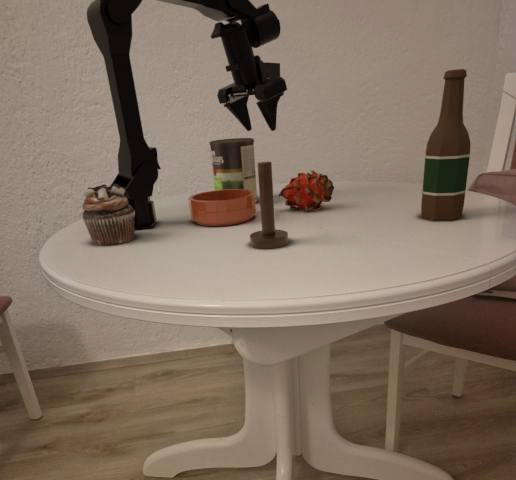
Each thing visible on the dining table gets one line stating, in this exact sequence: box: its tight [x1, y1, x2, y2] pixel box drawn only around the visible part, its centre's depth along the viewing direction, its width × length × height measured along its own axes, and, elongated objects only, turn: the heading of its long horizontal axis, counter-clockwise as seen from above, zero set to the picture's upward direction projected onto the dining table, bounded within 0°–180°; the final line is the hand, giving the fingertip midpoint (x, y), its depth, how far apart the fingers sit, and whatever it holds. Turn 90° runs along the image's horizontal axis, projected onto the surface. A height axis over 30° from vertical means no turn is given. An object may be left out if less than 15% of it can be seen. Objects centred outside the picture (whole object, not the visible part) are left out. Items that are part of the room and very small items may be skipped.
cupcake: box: [81, 184, 136, 246], centre depth 90 cm, size 10×10×10 cm
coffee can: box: [209, 137, 258, 204], centre depth 114 cm, size 10×10×14 cm
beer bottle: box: [420, 68, 471, 222], centre depth 85 cm, size 8×8×24 cm
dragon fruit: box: [278, 169, 335, 212], centre depth 103 cm, size 8×8×12 cm
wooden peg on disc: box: [249, 161, 289, 250], centre depth 79 cm, size 6×6×13 cm
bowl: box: [187, 189, 257, 227], centre depth 100 cm, size 14×14×5 cm
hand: (261, 130), depth 111 cm, fingers open, 9 cm apart
